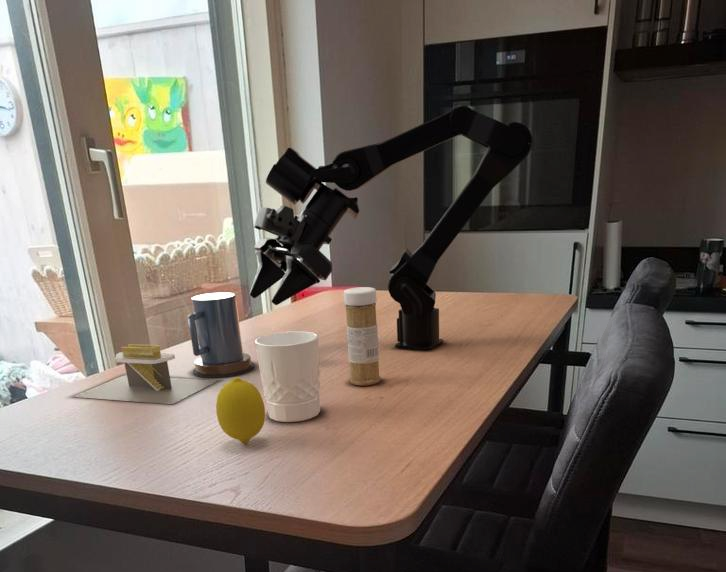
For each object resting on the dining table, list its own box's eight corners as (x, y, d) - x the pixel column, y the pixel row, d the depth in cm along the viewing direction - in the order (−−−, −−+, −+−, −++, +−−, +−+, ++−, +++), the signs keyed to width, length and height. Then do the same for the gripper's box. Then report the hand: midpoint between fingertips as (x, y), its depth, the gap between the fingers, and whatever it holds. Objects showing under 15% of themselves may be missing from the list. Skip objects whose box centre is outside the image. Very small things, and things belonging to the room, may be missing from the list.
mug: (219, 359, 120) (209, 290, 115) (262, 362, 116) (253, 292, 111) (176, 375, 112) (164, 302, 107) (220, 380, 107) (209, 304, 103)
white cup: (315, 424, 87) (308, 345, 83) (255, 423, 89) (245, 345, 85) (330, 404, 94) (324, 330, 90) (275, 404, 96) (266, 331, 92)
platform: (172, 404, 98) (164, 358, 96) (72, 396, 105) (62, 353, 102) (218, 380, 109) (212, 338, 106) (124, 375, 115) (116, 335, 112)
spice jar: (371, 376, 106) (367, 285, 100) (385, 383, 102) (381, 288, 97) (344, 381, 104) (338, 289, 99) (357, 388, 100) (351, 292, 95)
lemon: (223, 437, 85) (214, 372, 82) (269, 433, 85) (261, 369, 82) (219, 453, 80) (208, 386, 77) (267, 449, 80) (259, 382, 77)
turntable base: (267, 364, 116) (266, 362, 116) (226, 380, 108) (226, 378, 108) (222, 359, 121) (221, 357, 121) (180, 374, 113) (179, 372, 113)
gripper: (258, 187, 117) (205, 263, 117) (307, 185, 102) (246, 273, 102) (305, 232, 124) (254, 304, 123) (357, 237, 109) (300, 319, 108)
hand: (262, 299), depth 114 cm, fingers open, 9 cm apart
